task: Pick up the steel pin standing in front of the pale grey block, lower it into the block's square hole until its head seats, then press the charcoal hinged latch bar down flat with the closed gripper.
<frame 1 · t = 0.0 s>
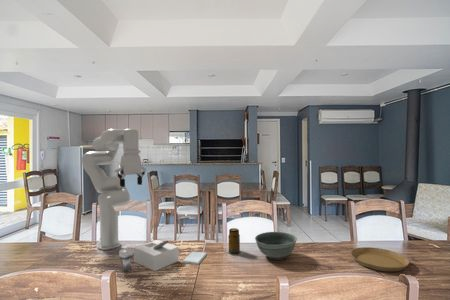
hand: (131, 185, 136), 37 cm above the table, tool pointing down, fingers open, 9 cm apart
bowl: (275, 257, 133), on the table
plant saucer: (378, 263, 125), on the table
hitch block: (156, 261, 129), on the table
hard drive: (195, 260, 132), on the table
condiment: (235, 252, 139), on the table
latch bar: (160, 244, 127), point 9 cm above the table, hinge at 30.7°
pin: (126, 269, 120), on the table
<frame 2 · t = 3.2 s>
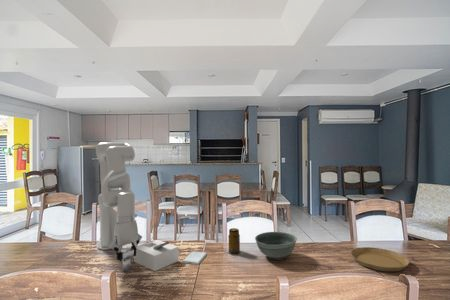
hand: (126, 257, 120), 6 cm above the table, tool pointing down, fingers closed on pin, 6 cm apart
latch bar: (161, 245, 126), point 9 cm above the table, hinge at 25.4°
pin: (126, 269, 120), on the table, touching gripper
everything else where it was.
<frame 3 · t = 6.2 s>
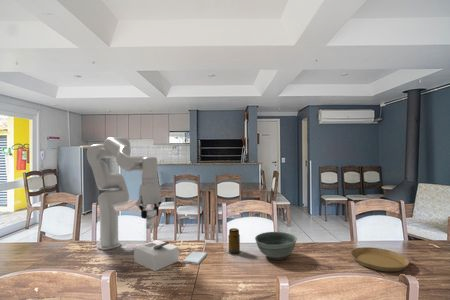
hand: (150, 216, 132), 22 cm above the table, tool pointing down, fingers closed on pin, 6 cm apart
pin: (150, 227, 132), point 16 cm above the table, touching gripper
everything else where it was.
when the fingers open (8 cm above the table, at t = 9.3 s): pin stays where it is, resting on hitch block.
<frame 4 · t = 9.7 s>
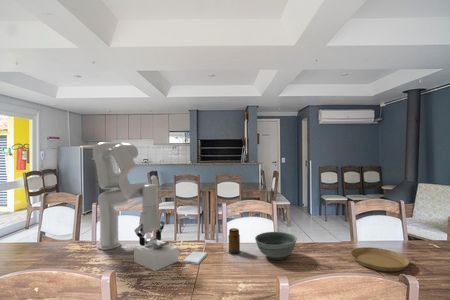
hand: (150, 242, 132), 8 cm above the table, tool pointing down, fingers open, 9 cm apart
pin: (150, 256, 132), point 1 cm above the table, touching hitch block
everything else where it was.
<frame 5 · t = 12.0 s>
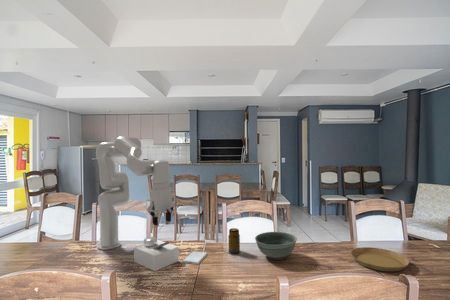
hand: (161, 222, 126), 20 cm above the table, tool pointing down, fingers open, 7 cm apart
nothing on the table moved.
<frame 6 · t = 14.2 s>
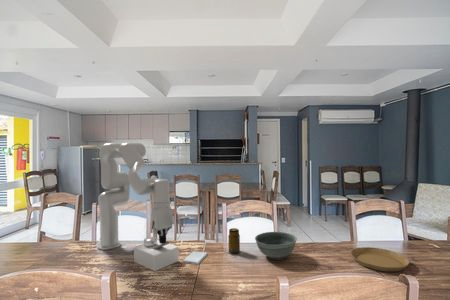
hand: (162, 242, 126), 10 cm above the table, tool pointing down, fingers closed
latch bar: (161, 245, 126), point 9 cm above the table, hinge at 25.4°, touching gripper
everything else where it was.
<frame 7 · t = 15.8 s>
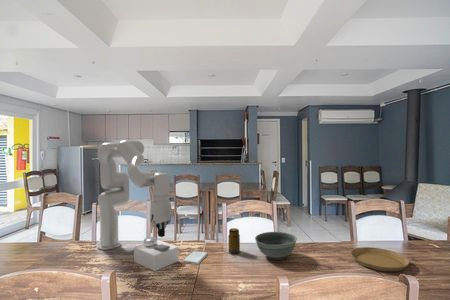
hand: (161, 236, 126), 13 cm above the table, tool pointing down, fingers closed
latch bar: (161, 247, 126), point 8 cm above the table, hinge at 5.0°
everything else where it was.
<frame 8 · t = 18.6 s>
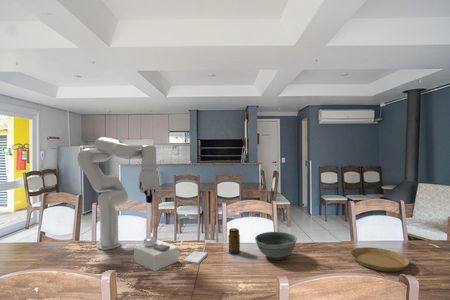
hand: (149, 202, 139), 27 cm above the table, tool pointing down, fingers closed
latch bar: (161, 247, 126), point 8 cm above the table, hinge at 4.5°
everything else where it was.
at the end: pin 0.1 cm from the target spot on the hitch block, point 1.0 cm above the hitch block's base; latch bar at +4° (first picture: +31°); the gripper is holding nothing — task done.
